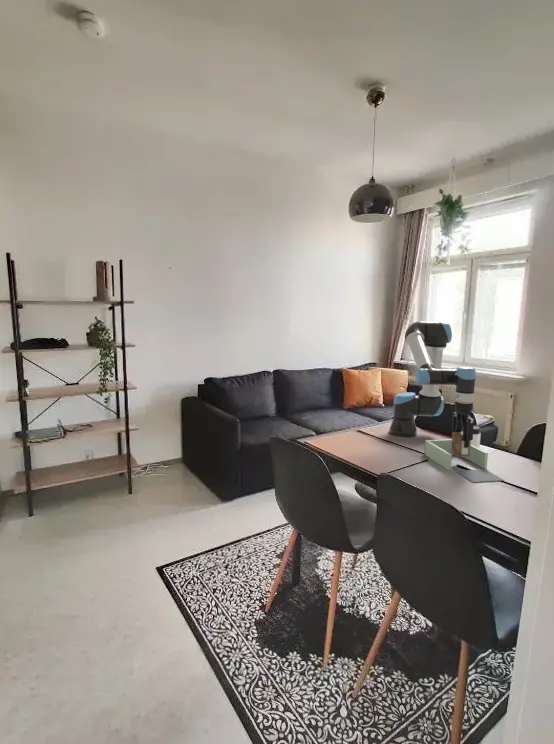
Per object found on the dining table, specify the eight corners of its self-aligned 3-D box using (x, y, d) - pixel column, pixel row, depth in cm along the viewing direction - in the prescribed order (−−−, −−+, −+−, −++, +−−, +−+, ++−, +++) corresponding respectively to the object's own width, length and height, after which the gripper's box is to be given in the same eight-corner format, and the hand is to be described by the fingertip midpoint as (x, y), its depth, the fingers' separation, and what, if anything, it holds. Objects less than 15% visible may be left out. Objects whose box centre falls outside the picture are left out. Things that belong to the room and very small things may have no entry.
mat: (455, 471, 176) (455, 470, 176) (485, 470, 178) (485, 469, 178) (472, 482, 164) (472, 481, 164) (504, 481, 166) (504, 480, 166)
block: (451, 453, 186) (452, 432, 185) (463, 452, 187) (464, 431, 186) (457, 456, 181) (458, 435, 180) (469, 456, 182) (471, 434, 181)
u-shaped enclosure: (424, 454, 199) (424, 440, 198) (458, 452, 201) (459, 438, 200) (448, 470, 178) (449, 454, 177) (486, 468, 181) (487, 453, 180)
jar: (456, 448, 208) (458, 425, 207) (469, 446, 211) (471, 424, 209) (469, 453, 200) (471, 430, 198) (482, 452, 202) (484, 428, 201)
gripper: (445, 398, 189) (442, 446, 193) (468, 406, 172) (464, 459, 175) (459, 397, 191) (456, 445, 194) (484, 405, 173) (480, 458, 176)
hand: (460, 451), depth 184 cm, fingers closed on block, 5 cm apart
